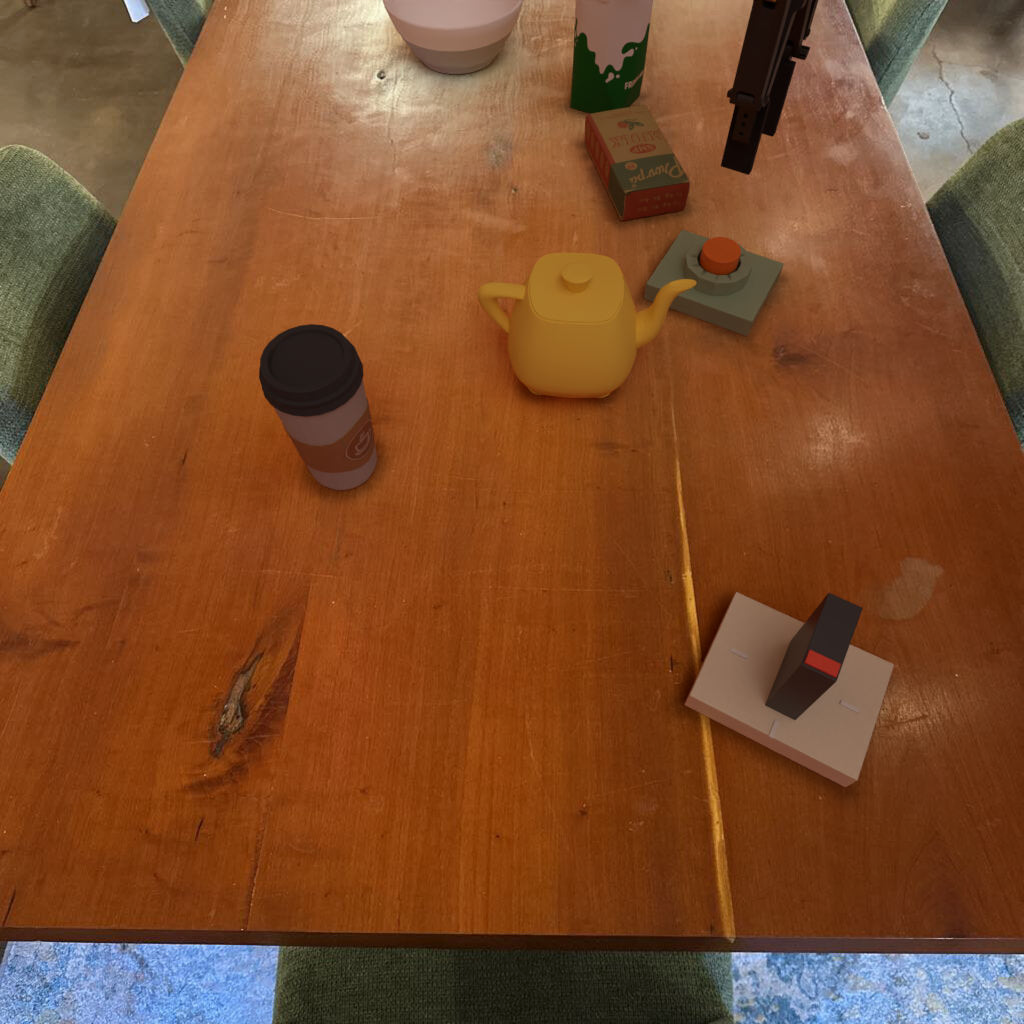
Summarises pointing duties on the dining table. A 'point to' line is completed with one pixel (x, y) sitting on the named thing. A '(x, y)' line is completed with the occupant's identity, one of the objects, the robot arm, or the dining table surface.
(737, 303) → the housing
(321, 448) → the coffee cup
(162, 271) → the dining table surface
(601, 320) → the teapot
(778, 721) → the panel
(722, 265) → the button
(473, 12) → the bowl
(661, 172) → the carton
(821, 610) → the dark grey rectangular block
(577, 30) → the milk carton
